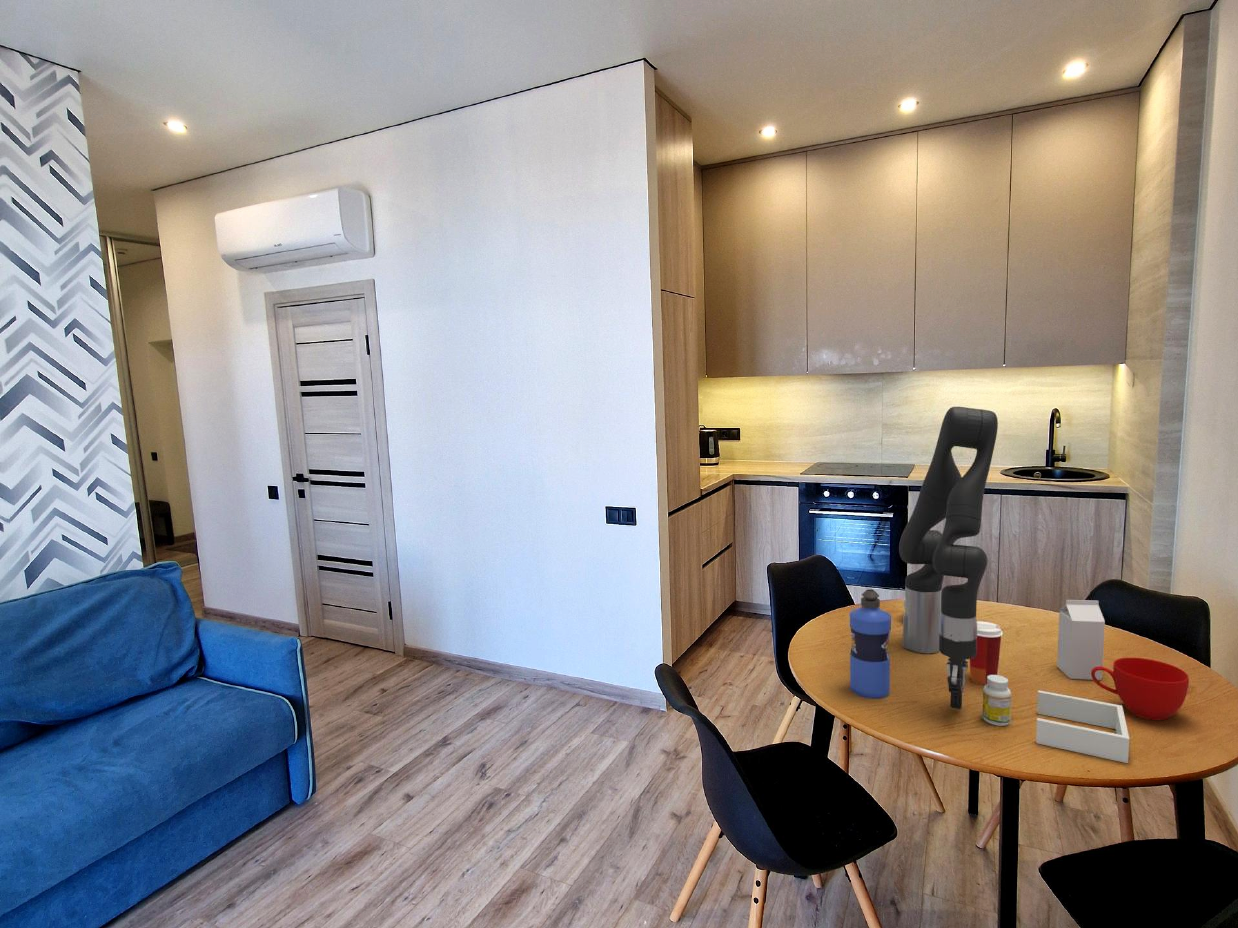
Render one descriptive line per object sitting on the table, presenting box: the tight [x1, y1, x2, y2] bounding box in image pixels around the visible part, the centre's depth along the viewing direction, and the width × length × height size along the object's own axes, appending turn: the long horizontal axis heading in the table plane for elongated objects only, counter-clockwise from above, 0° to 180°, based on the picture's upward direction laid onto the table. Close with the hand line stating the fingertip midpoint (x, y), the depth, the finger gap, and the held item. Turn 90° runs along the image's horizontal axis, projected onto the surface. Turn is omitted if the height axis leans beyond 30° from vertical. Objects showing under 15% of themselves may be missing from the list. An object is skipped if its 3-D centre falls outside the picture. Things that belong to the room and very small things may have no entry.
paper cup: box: [969, 620, 1003, 686], centre depth 164 cm, size 8×8×14 cm
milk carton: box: [1056, 599, 1106, 681], centre depth 165 cm, size 7×7×19 cm
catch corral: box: [1035, 690, 1130, 764], centre depth 138 cm, size 15×15×5 cm
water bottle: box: [849, 588, 892, 700], centre depth 160 cm, size 9×9×25 cm
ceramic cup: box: [1091, 657, 1190, 721], centre depth 147 cm, size 13×17×10 cm
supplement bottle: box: [982, 674, 1012, 727], centre depth 145 cm, size 5×5×10 cm
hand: (956, 706), depth 150 cm, fingers closed
